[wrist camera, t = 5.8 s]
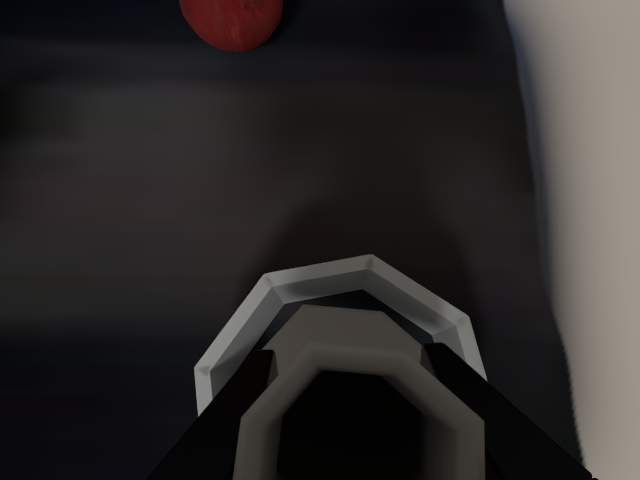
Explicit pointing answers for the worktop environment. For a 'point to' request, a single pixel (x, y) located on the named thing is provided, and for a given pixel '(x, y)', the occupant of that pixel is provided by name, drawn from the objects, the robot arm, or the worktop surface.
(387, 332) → the flask
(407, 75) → the worktop surface
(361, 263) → the collar
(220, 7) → the onion
